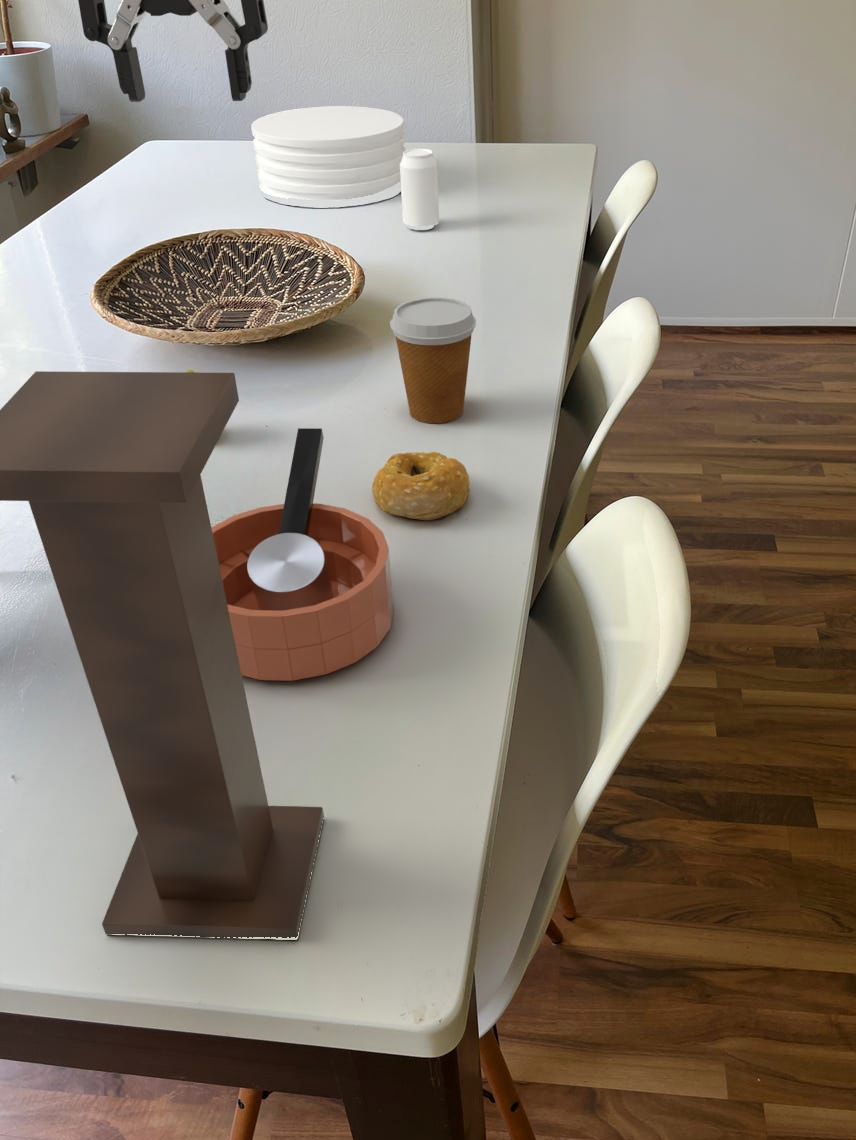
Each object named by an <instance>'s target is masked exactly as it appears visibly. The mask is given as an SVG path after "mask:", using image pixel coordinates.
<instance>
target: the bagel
mask: <svg viewBox="0 0 856 1140" xmlns="http://www.w3.org/2000/svg"><path fill="white" fill-rule="evenodd" d="M470 484H471V481H470V477H469V473H468V471H467V469H466V467H465V465H464V464H463V463H461V462H460V461H459V460H458V459H456V458H452V457H448V456H447V455H445V454H441V453H440V452H436V451H432V452H431V451H430V452H405V453H396V454H392V455H391V456H390V457H389V458H388V460H386V463H385V464H384V466H383V467H382V468H379V470H378V471H377V473H376V474H375V476H374V479H373V483H372V487H371V488H372V489H371V491H372V495H373V499H374V501H375V503H376V504H377V506H378V507H379V508H381V510H382V511H383V512H384V513H388V514H390V515H394V516H399V517H404V518H407V519H412V520H413V519H414V520H421V521H433V520H437V519H440V518H443V517H446V516H449V515H451V514H453V513H455V511H457V510H459V509H460V508H462V507H463V506H464V504H465V502H466V501H467V497H468V495H469V494H470V492H471V488H470Z"/></svg>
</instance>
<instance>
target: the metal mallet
mask: <svg viewBox="0 0 856 1140" xmlns="http://www.w3.org/2000/svg"><path fill="white" fill-rule="evenodd" d="M324 438H325V437H324V433H323V428H316V427H315V428H314V427H313V428H311V427H310V428H305V427H304V428H300V427H299V428H297V433H296V438H295V443H294V448H293V453H292V460H291V466H290V470H289V476H288V480H287V481H288V482H287V485H286V492H285V498H284V503H283V504H284V508H283V513H282V519H281V524H280V530H279V534H278V535H274V536H272V537H269V538H267V539H265V540H264V541H262V542H261V543H260V544H258V545H257V546H256V547H255V548H254V550H253V551H252V553H251V554H250V556H249V559H248V563H247V571H248V575H249V578H250V581H251V584H252V587H253V590H254V593H255V596H256V599H257V602H258V605H259V609H260V610H275V611H284V610H290V609H296V608H301V607H307V606H313V605H316V604H319V603H322V602H325V601H327V600H330V599H333V591H332V586H331V582H330V577H329V573H328V568H327V564H326V559H325V555H324V551H323V549H322V547H321V546H320V545H319V544H318V543H317V542H316V541H315V540H314V539H312V538H311V537H309V536H308V531H309V525H310V519H311V512H312V506H313V503H314V499H315V493H316V488H317V482H318V481H317V480H318V476H319V469H320V464H321V463H320V462H321V458H322V457H321V456H322V450H323V444H324Z"/></svg>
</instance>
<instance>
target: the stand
mask: <svg viewBox="0 0 856 1140" xmlns="http://www.w3.org/2000/svg"><path fill="white" fill-rule="evenodd" d="M239 402H240V398H239V392H238V386H237V380H236V375H235V372H199V373H192V372H186V371H185V372H182V371H179V372H178V371H175V372H173V371H162V372H160V371H47V370H46V371H45V370H44V371H43V370H41V371H40V370H39V371H36V370H35V372H34V373H32V375H31V376H30V377H29V378H28V379H27V380H26V381H25V382H24V383H23V384H22V386H21V387H19V389H18V390H17V391H16V392H15V393H14V394H13V395H12V396H11V397H10V399H8V401H7V402H5V404H4V405H3V406H2V407H1V409H0V502H3V501H4V502H6V501H7V502H28V504H29V508H30V510H31V514H32V516H33V520H34V523H35V525H36V529H37V533H38V535H39V538H40V541H41V544H42V546H43V550H44V552H45V556H46V558H47V562H48V566H49V568H50V571H51V574H52V577H53V581H54V583H55V586H56V590H57V592H58V595H59V599H60V601H61V604H62V608H63V610H64V613H65V616H66V619H67V622H68V625H69V629H70V632H71V635H72V638H73V641H74V645H75V647H76V651H77V653H78V656H79V659H80V662H81V665H82V668H83V671H84V674H85V678H86V680H87V684H88V686H89V689H90V693H91V696H92V698H93V701H94V706H95V708H96V712H97V714H98V716H99V721H100V723H101V726H102V729H103V732H104V735H105V738H106V741H107V744H108V747H109V750H110V754H111V757H112V760H113V762H114V765H115V769H116V772H117V774H118V778H119V780H120V783H121V786H122V790H123V793H124V796H125V798H126V802H127V805H128V808H129V811H130V814H131V817H132V820H133V823H134V826H135V829H136V833H137V834H136V837H135V839H134V841H133V844H132V847H131V849H130V852H129V854H128V856H127V860H126V861H125V864H124V867H123V870H122V871H121V875H120V877H119V880H118V882H117V883H116V884H117V885H116V887H115V889H114V892H113V894H112V897H111V899H110V902H109V905H108V907H107V909H106V912H105V915H104V917H103V920H102V922H101V926H102V928H103V932H104V934H105V935H106V934H125V935H127V934H138V935H140V934H142V935H145V934H146V935H150V934H151V935H154V934H155V935H172V936H174V935H177V936H180V935H182V936H195V937H196V936H200V937H215V938H217V937H220V938H224V937H225V938H227V937H230V938H233V937H236V938H238V937H241V938H242V937H247V938H249V937H252V938H253V937H264V938H265V937H270V938H271V937H276V938H278V937H282V938H287V937H289V938H291V937H295V938H296V937H297V936H298V932H299V928H300V923H301V919H302V914H303V910H304V905H305V900H306V895H307V891H308V888H309V889H310V887H309V883H310V884H311V882H310V877H311V872H312V869H313V870H314V868H313V863H314V859H315V854H316V850H317V845H318V840H319V835H320V831H321V826H322V821H323V818H324V819H325V815H324V808H323V806H299V805H298V806H295V805H269V802H268V797H267V792H266V787H265V782H264V778H263V773H262V768H261V763H260V762H261V761H260V758H259V753H258V749H257V742H256V738H255V734H254V730H253V724H252V717H251V714H250V710H249V709H250V708H249V704H248V699H247V695H246V689H245V685H244V680H243V676H242V675H241V670H240V665H239V660H238V655H237V650H236V645H235V640H234V636H233V631H232V626H231V621H230V616H229V611H228V606H227V601H226V597H225V592H224V587H223V582H222V577H221V572H220V567H219V562H218V558H217V553H216V548H215V543H214V538H213V533H212V528H211V527H212V523H211V518H210V514H209V509H208V504H207V500H206V495H205V489H204V485H203V479H202V476H201V474H202V473H203V471H204V468H205V467H206V465H207V463H208V461H209V459H210V457H211V455H212V454H213V451H214V450H215V448H216V446H217V444H218V442H219V440H220V437H221V436H222V435H223V432H224V431H225V428H226V426H227V424H228V423H229V420H230V419H231V417H232V415H233V413H234V411H235V410H236V408H237V406H238V404H239ZM322 827H323V826H322ZM321 832H322V831H321ZM319 841H320V840H319ZM318 846H319V845H318ZM317 851H318V850H317ZM316 855H317V854H316ZM315 860H316V859H315Z"/></svg>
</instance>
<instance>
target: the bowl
mask: <svg viewBox="0 0 856 1140" xmlns="http://www.w3.org/2000/svg"><path fill="white" fill-rule="evenodd" d="M283 508H284V503H281V504H274V505H268V506H266V505H265V506H260V507H256V508H254V509H253V508H252V509H251V510H247V511H244V512H241V513H238V514H235V515H231V516H229V517H228V518H226V519H224V520H222V521H220V522H219V523H217V524H215V525H213V526H211V528H212V533H213V538H214V543H215V548H216V553H217V558H218V562H219V567H220V572H221V577H222V582H223V587H224V592H225V597H226V601H227V606H228V611H229V616H230V621H231V626H232V631H233V636H234V640H235V645H236V650H237V655H238V660H239V665H240V670H241V675H242V677H247V678H250V679H254V680H258V681H292V682H293V681H298V680H302V679H309V678H314V677H320V676H325V675H328V674H330V673H334V672H336V671H337V670H341V669H344V668H345V667H348V666H350V665H352V664H355V663H357V662H358V661H360V660H361V659H362V658H364V657H365V656H366V655H368V654H369V653H371V652H372V651H373V650H375V649H376V648H377V647H378V646H379V645H380V643H381V642H382V641H383V639H384V638H385V636H386V635H387V634H388V632H389V631H390V630H391V626H392V621H393V615H394V612H395V611H394V608H395V607H394V598H393V585H392V570H391V559H390V548H389V545H388V543H387V540H386V538H385V535H384V532H383V531H382V530H381V529H380V528H379V527H378V526H377V525H376V524H375V523H373V522H372V521H371V520H370V519H369V518H367V517H365V516H363V515H361V514H359V513H356V512H354V511H353V510H349V509H347V508H345V507H339V506H334V505H329V504H324V503H318V502H317V503H314V502H313V506H312V512H311V519H310V525H309V531H308V536H309V537H311V538H312V539H314V540H315V541H316V542H317V543H318V544H319V545H320V546H321V547H322V549H323V551H324V555H325V559H326V564H327V568H328V573H329V577H330V582H331V586H332V591H333V599H330V600H327V601H325V602H322V603H319V604H316V605H313V606H307V607H301V608H296V609H290V610H284V611H275V610H260V609H259V605H258V602H257V599H256V596H255V593H254V590H253V587H252V584H251V581H250V578H249V575H248V571H247V563H248V559H249V556H250V554H251V553H252V551H253V550H254V548H255V547H256V546H257V545H258V544H260V543H261V542H262V541H264V540H265V539H267V538H269V537H272V536H274V535H278V534H279V530H280V524H281V519H282V513H283Z"/></svg>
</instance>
